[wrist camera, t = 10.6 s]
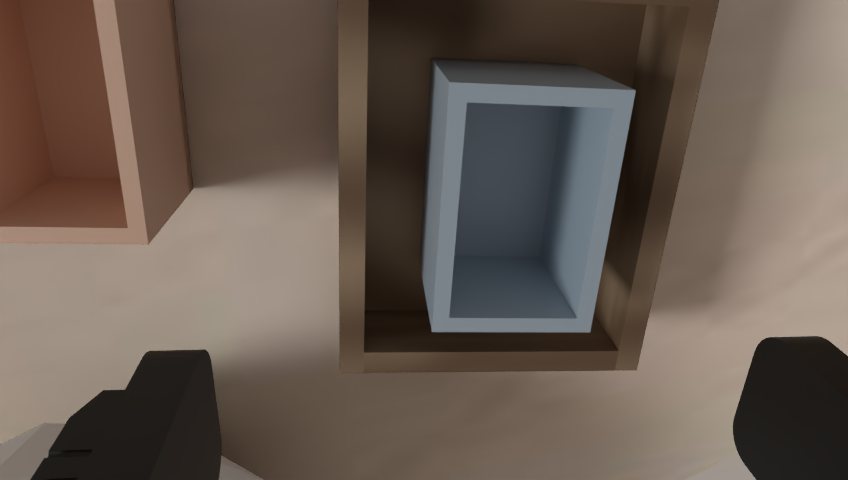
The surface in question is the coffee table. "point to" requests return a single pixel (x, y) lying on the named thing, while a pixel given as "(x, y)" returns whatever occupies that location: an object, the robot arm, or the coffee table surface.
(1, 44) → the terracotta crate
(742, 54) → the coffee table surface
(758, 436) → the robot arm
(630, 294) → the walnut crate
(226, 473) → the geometric orb
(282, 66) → the coffee table surface
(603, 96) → the blue-grey hollow box
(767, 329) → the coffee table surface
